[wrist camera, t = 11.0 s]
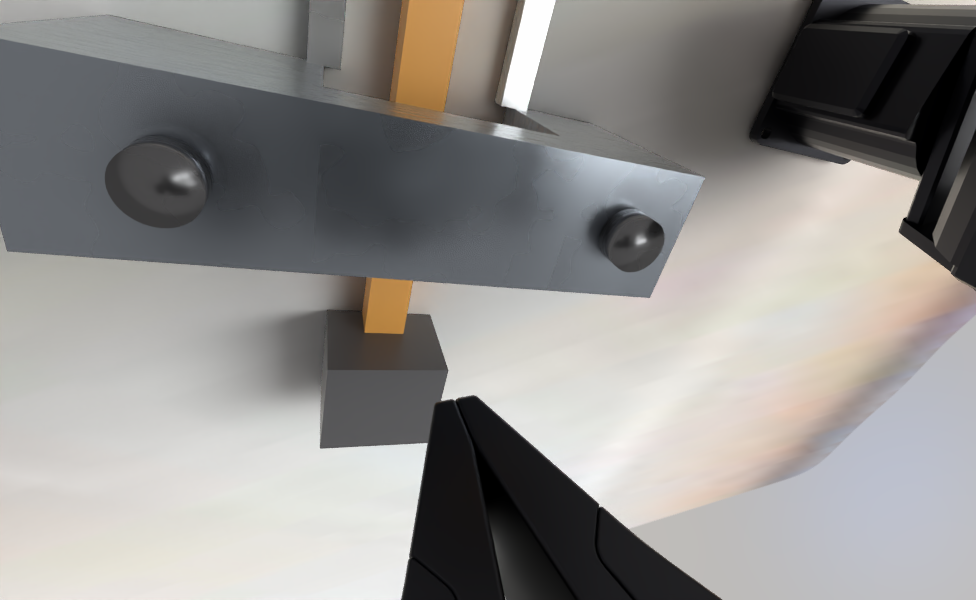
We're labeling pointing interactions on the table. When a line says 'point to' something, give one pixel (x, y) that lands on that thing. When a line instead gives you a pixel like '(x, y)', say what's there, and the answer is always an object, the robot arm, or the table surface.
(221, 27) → the table surface
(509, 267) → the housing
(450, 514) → the robot arm
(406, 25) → the grey-capped orange bar
